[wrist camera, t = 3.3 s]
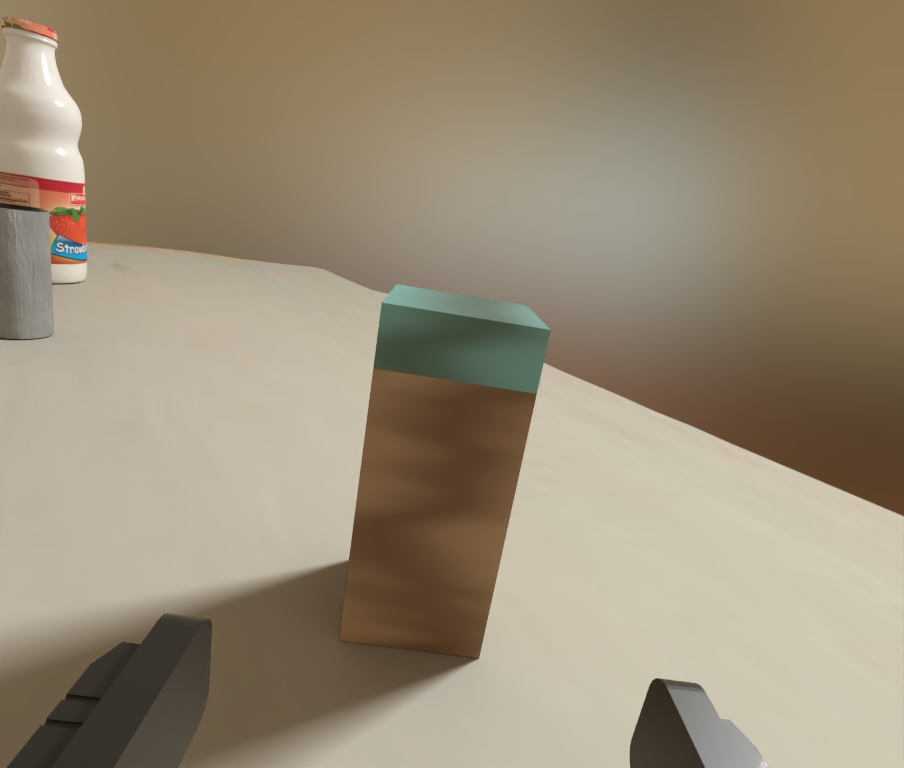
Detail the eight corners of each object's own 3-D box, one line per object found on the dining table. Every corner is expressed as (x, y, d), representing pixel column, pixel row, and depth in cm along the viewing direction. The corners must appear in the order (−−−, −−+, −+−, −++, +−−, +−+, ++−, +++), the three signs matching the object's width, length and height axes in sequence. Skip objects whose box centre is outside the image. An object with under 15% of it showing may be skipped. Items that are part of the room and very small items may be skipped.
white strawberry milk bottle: (6, 268, 70) (-11, 22, 62) (92, 276, 74) (87, 46, 66) (-19, 279, 62) (-41, -2, 54) (80, 287, 66) (73, 27, 58)
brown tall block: (338, 640, 19) (381, 302, 16) (360, 556, 24) (397, 284, 20) (478, 658, 19) (550, 329, 16) (472, 571, 24) (526, 305, 21)
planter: (48, 326, 49) (43, 207, 46) (58, 339, 46) (54, 213, 43) (-18, 326, 45) (-29, 199, 43) (-12, 340, 42) (-22, 204, 40)
